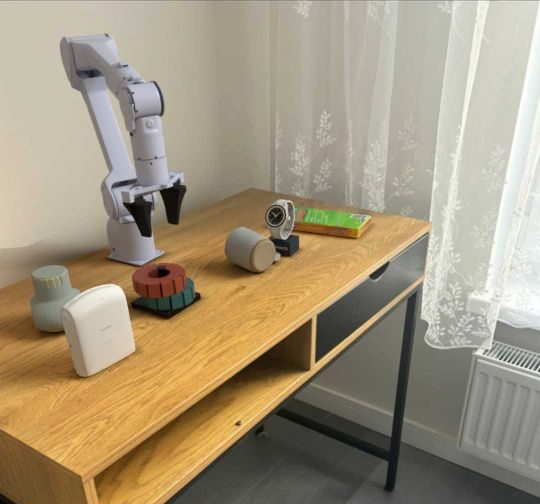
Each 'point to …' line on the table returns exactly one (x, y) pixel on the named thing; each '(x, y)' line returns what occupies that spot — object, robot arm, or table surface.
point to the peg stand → (167, 314)
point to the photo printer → (97, 328)
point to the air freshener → (50, 296)
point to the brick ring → (159, 280)
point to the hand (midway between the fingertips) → (160, 230)
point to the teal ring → (173, 298)
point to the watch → (282, 227)
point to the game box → (330, 222)
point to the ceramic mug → (250, 250)
